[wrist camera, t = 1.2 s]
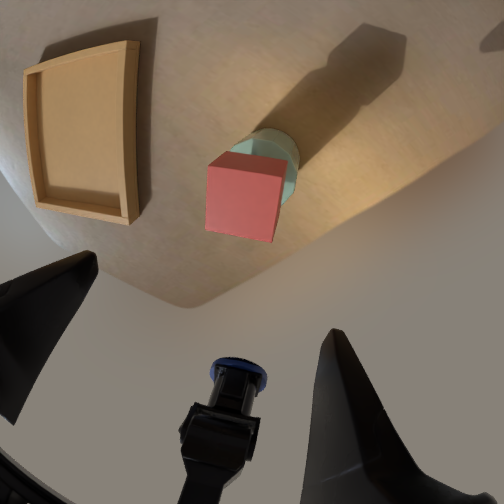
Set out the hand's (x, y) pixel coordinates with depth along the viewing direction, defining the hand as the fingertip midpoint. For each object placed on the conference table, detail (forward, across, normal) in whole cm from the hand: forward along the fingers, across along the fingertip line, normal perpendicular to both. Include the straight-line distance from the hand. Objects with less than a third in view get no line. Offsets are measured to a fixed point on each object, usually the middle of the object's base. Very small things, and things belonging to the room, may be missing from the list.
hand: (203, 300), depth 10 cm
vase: (+15, 0, -1) cm, 15 cm away
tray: (+15, +19, 0) cm, 24 cm away
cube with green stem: (+15, 0, -1) cm, 15 cm away
